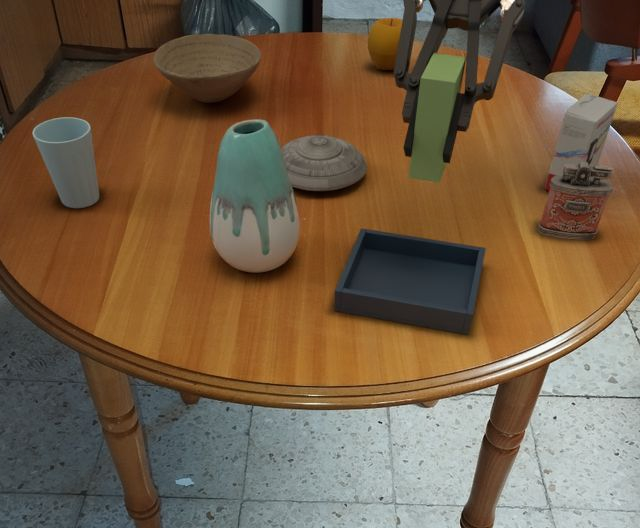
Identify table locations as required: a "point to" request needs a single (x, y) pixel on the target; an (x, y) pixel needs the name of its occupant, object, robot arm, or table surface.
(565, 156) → the ink box
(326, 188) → the flying saucer
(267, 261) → the vase
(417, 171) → the sponge
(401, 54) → the robot arm
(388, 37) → the apple
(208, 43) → the bowl
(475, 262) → the tray
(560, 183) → the lighter
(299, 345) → the table surface
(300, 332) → the table surface
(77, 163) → the cup
